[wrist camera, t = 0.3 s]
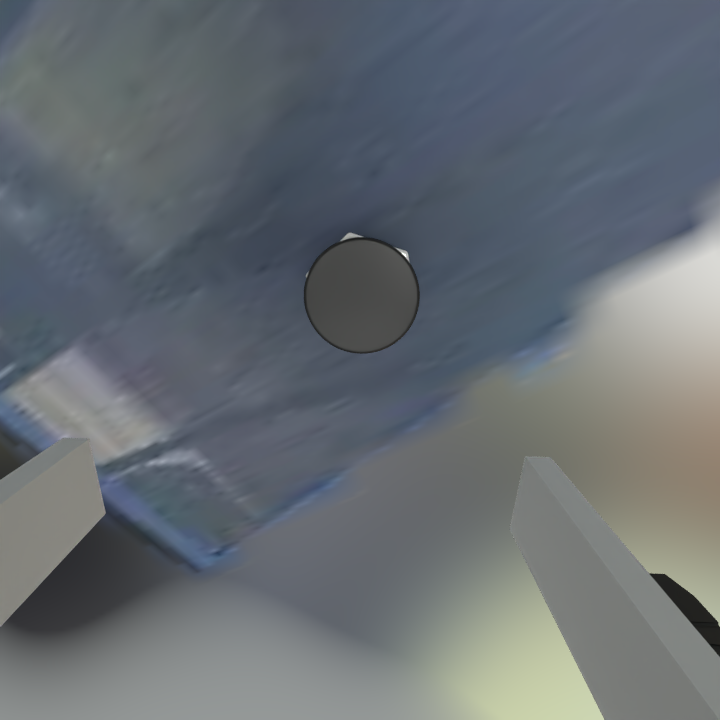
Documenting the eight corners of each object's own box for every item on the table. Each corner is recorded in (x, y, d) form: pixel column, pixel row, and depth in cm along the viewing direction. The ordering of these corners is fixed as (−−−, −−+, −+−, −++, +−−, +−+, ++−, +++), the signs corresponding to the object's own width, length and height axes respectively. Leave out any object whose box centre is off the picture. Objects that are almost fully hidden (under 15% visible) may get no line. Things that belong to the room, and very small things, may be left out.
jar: (310, 306, 38) (284, 334, 26) (333, 225, 35) (314, 218, 24) (393, 332, 38) (402, 370, 27) (420, 255, 36) (443, 261, 25)
